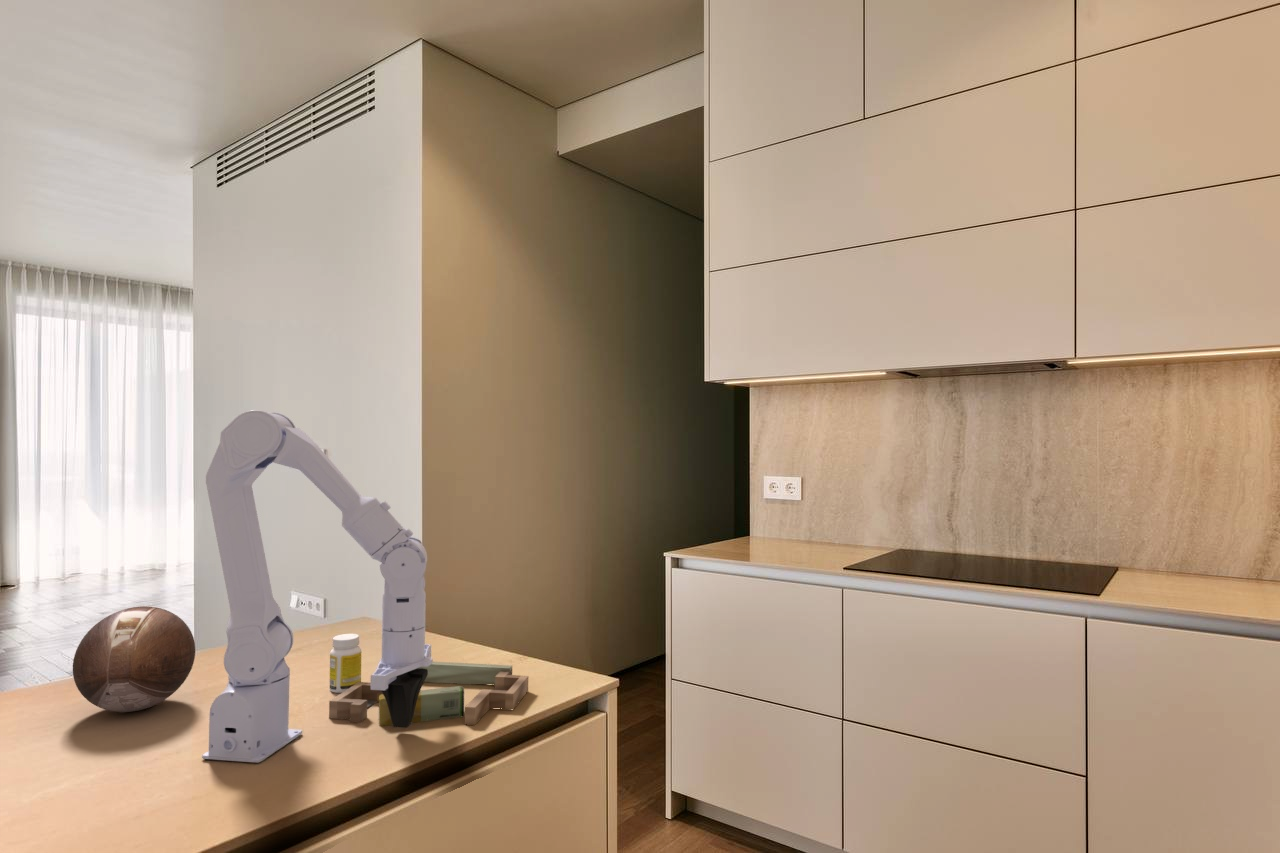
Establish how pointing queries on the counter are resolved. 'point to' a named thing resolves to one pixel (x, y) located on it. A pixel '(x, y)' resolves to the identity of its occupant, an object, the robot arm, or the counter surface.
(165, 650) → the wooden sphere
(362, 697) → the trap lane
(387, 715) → the medication box
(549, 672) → the counter surface
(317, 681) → the counter surface
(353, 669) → the supplement bottle
